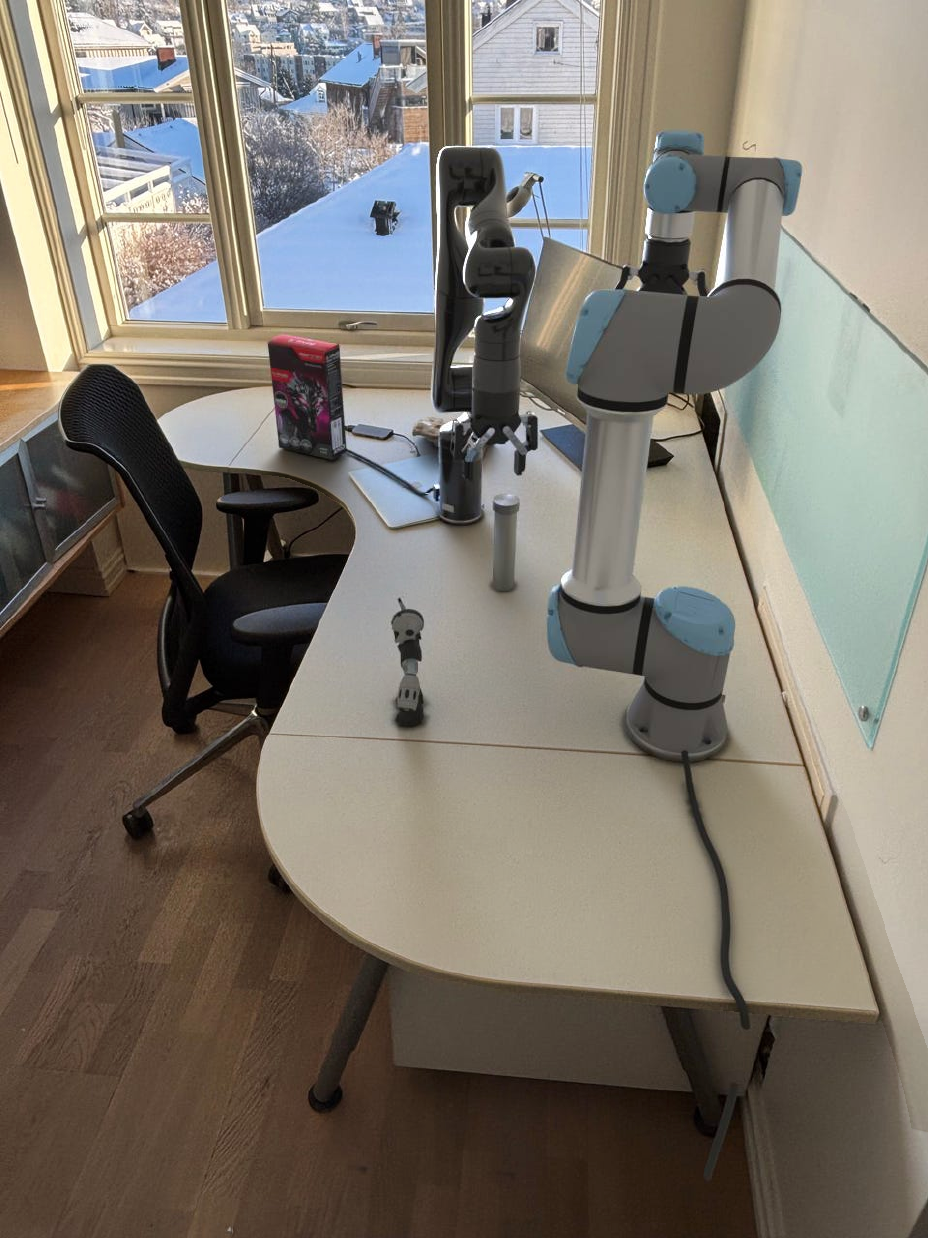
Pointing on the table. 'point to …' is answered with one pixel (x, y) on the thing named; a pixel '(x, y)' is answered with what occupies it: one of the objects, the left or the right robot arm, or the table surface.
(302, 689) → the table surface
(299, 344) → the graphics card box
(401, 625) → the robot
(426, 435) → the stone
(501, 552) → the grey capped cylinder
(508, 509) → the lid
